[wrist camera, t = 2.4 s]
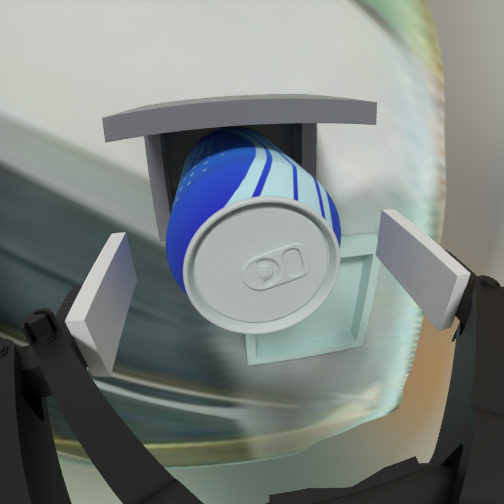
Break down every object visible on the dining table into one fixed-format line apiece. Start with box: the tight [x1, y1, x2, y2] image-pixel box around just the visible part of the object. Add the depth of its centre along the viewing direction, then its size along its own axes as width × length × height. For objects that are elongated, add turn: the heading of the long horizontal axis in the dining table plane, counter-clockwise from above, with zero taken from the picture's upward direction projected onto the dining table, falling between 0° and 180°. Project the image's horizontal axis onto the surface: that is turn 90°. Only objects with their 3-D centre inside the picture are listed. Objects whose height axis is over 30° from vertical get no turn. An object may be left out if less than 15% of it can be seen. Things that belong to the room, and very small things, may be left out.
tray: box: [244, 233, 380, 365], centre depth 33 cm, size 14×14×2 cm
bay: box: [102, 94, 377, 242], centre depth 21 cm, size 13×11×12 cm
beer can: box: [166, 127, 341, 334], centre depth 20 cm, size 8×8×16 cm
